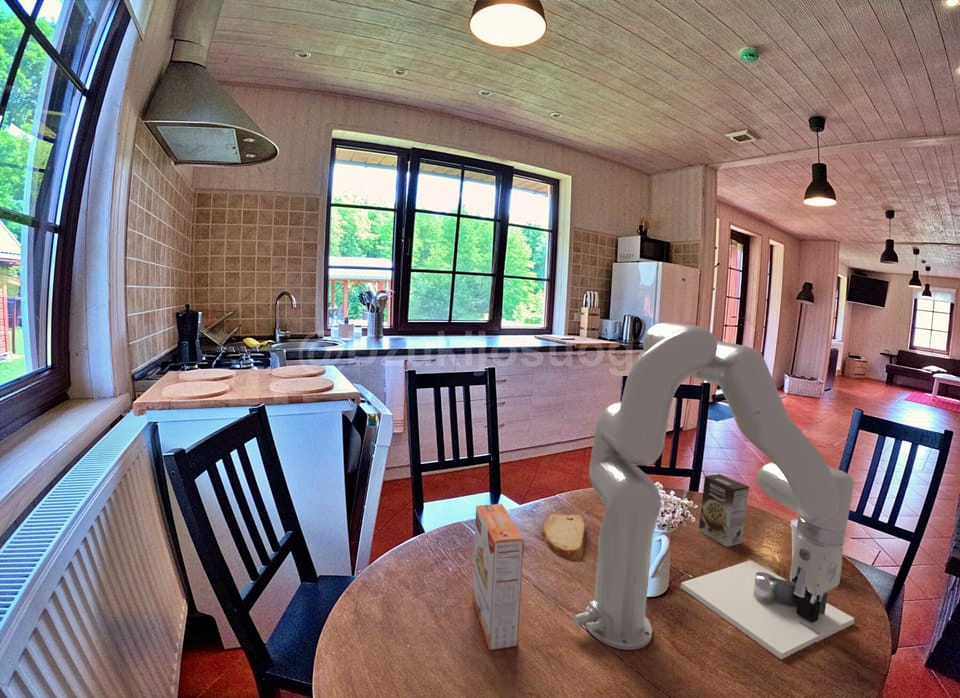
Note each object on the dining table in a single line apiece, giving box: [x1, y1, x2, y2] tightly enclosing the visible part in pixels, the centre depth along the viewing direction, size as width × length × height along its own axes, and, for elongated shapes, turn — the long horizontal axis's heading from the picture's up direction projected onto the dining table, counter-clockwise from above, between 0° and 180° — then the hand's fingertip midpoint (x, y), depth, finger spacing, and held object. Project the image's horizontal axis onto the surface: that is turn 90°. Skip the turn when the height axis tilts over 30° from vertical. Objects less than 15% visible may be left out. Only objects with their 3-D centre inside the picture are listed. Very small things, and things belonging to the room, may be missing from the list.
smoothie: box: [789, 518, 799, 561], centre depth 115 cm, size 6×6×14 cm
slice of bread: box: [541, 512, 587, 561], centre depth 122 cm, size 18×18×4 cm
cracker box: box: [472, 503, 525, 651], centre depth 87 cm, size 14×6×21 cm, turn 13°
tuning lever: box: [753, 572, 828, 614], centre depth 96 cm, size 12×4×4 cm, turn 69°
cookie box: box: [698, 473, 750, 548], centre depth 125 cm, size 9×6×16 cm
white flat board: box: [680, 560, 856, 660], centre depth 98 cm, size 24×22×1 cm
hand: (806, 617), depth 92 cm, fingers closed
